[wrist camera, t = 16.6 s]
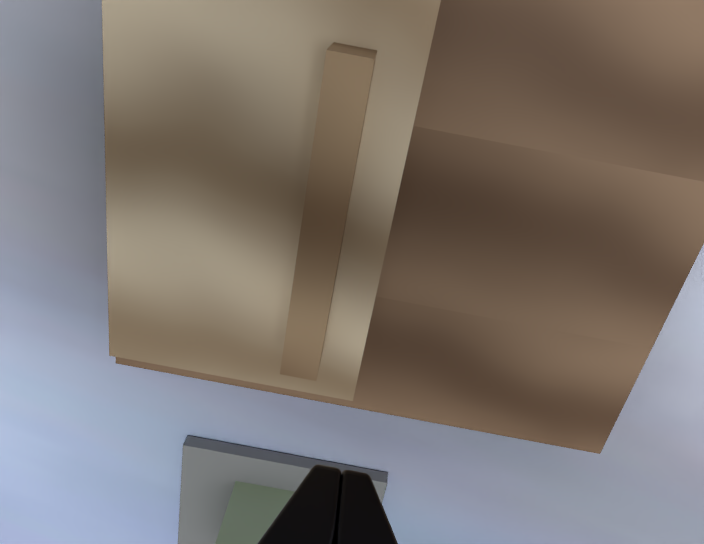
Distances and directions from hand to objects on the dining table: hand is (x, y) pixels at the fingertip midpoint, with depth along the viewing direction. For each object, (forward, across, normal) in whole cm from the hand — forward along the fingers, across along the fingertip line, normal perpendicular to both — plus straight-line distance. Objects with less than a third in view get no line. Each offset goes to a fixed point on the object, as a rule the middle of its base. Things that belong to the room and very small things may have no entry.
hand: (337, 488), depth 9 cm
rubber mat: (+13, +2, +16) cm, 21 cm away
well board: (+13, -1, 0) cm, 13 cm away
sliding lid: (+11, +4, 0) cm, 12 cm away
